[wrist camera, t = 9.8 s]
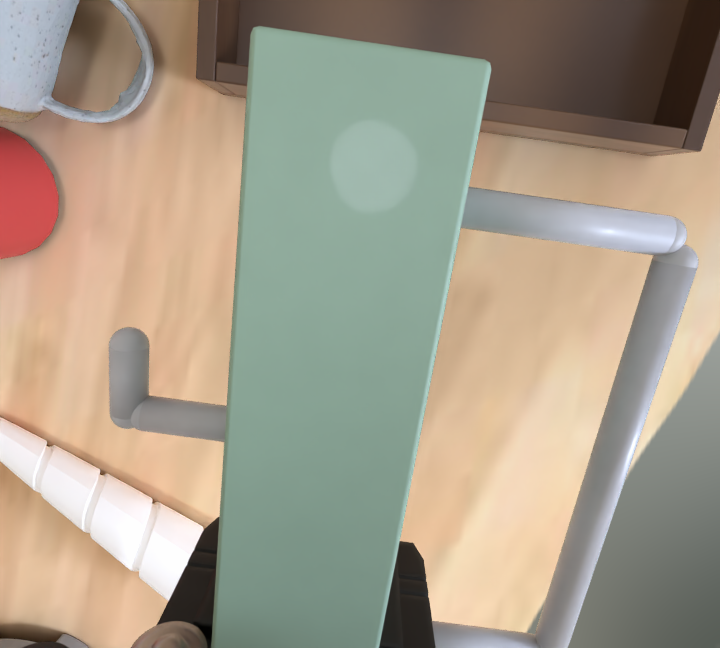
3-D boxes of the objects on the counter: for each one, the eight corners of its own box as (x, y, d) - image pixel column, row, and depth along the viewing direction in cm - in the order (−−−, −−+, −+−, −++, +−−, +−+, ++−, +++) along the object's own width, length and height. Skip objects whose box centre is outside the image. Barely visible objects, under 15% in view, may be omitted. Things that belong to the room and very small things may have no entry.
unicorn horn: (-40, 335, 27) (-124, 365, 23) (289, 557, 31) (275, 622, 27) (-75, 393, 28) (-162, 433, 24) (247, 600, 32) (226, 669, 28)
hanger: (713, 164, 10) (1063, 142, 5) (542, 681, 13) (637, 958, 9) (118, 77, 9) (-151, -39, 4) (122, 628, 13) (-21, 879, 8)
